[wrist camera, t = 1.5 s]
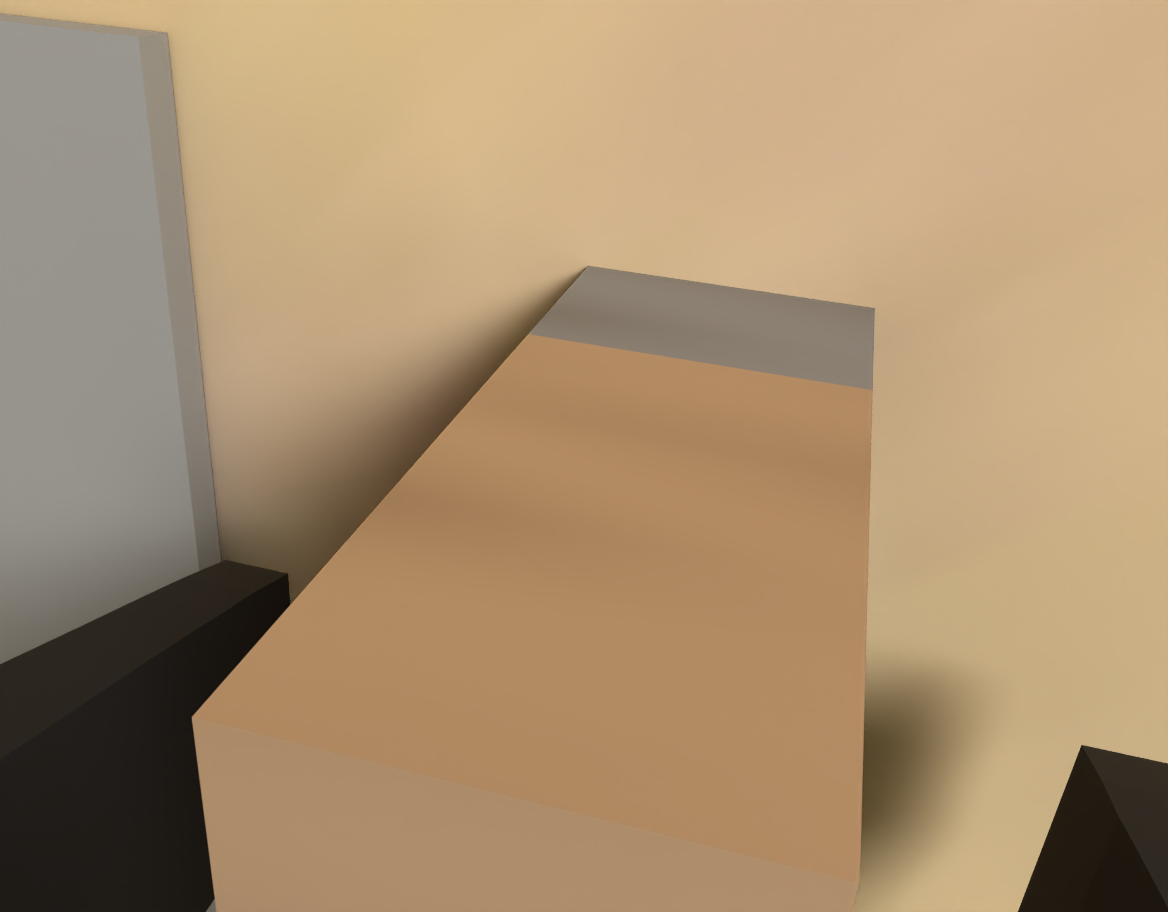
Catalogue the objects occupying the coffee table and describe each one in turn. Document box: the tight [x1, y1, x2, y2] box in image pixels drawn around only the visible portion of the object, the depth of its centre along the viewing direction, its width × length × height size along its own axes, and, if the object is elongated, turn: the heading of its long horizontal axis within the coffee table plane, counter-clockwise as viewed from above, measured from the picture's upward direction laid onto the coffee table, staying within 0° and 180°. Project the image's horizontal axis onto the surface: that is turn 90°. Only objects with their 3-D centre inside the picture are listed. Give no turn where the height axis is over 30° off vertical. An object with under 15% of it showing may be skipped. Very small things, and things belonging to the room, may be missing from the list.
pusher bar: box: [192, 266, 875, 912], centre depth 8 cm, size 7×2×6 cm, turn 176°
